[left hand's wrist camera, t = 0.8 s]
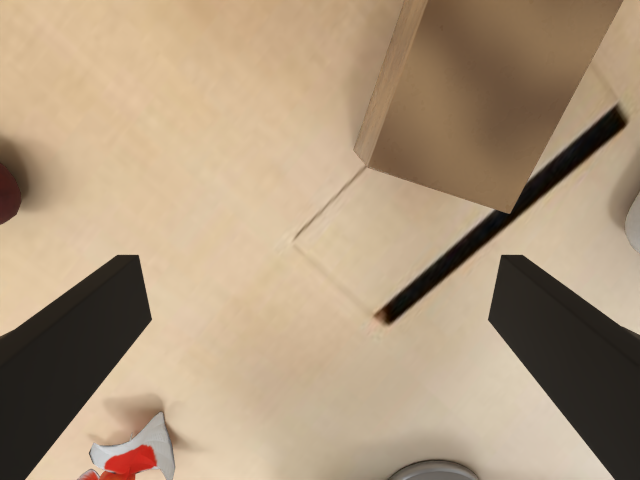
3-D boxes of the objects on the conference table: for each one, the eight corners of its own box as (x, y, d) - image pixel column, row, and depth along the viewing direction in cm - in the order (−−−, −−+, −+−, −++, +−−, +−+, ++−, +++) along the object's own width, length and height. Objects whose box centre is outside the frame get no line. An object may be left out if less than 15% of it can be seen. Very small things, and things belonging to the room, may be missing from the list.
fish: (37, 473, 44) (25, 553, 36) (132, 375, 47) (140, 429, 39) (111, 491, 50) (115, 562, 42) (190, 403, 53) (208, 455, 45)
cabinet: (422, -54, 28) (480, -146, 18) (541, -5, 30) (659, -66, 19) (353, 150, 34) (367, 167, 24) (455, 184, 35) (510, 214, 25)
